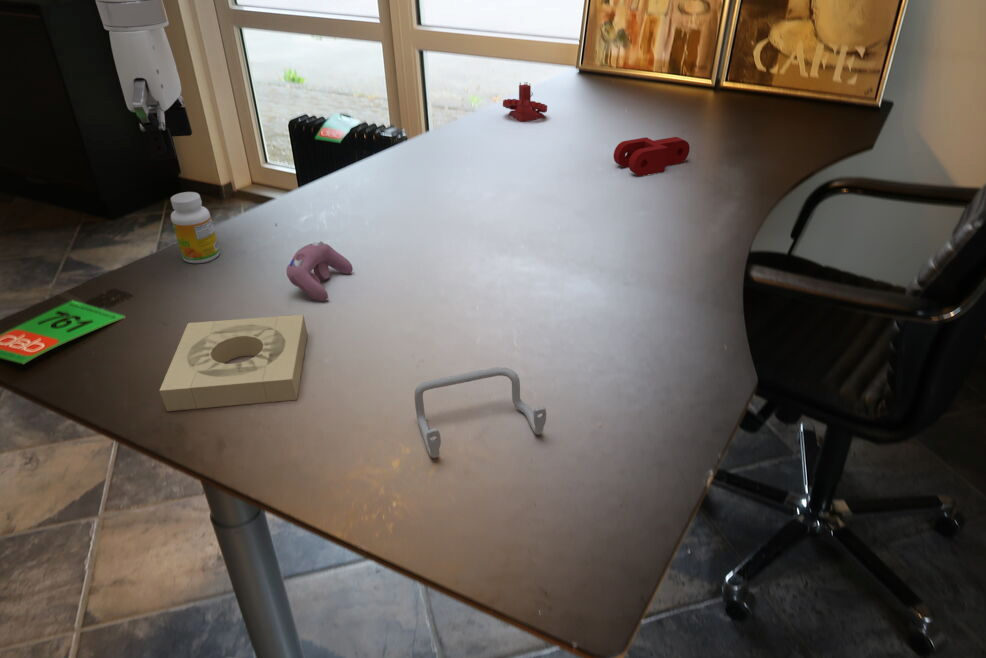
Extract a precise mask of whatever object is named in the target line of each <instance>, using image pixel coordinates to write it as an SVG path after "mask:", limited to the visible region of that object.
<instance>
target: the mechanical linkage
mask: <svg viewBox="0 0 986 658" xmlns="http://www.w3.org/2000/svg"><path fill="white" fill-rule="evenodd" d="M690 149H691V148H690V144H689V142H688V141H687V140H685V139H683V138H681V137H678V136H671V137H665V138H661V139H654V140H653V139H651V138H649V137H647V136H646V137H640V138H634V139H629V140H628V139H627V140H623V141H620V142H619V143H618V144H617V145H616V146H615V149H614V151H613V161H614V162H615V164H617V165H618V166H620V167H622V168H625V169H627V168H626V167H628V168H629V169H628V170H629V171H630V172H631V173H632V174H635V175H636V176H638V177H644V176H643V175H645V176H649V175H648V174H651V175H655V174H654V173H656V174H659V173H658V172H661V173H665V172H664V171H666V167H669V166H668V165H671V166H675V165H674V164H676V165H679V164H682V163H684V162H685V161H686V160H687V158H688V156H689V154H690Z"/></svg>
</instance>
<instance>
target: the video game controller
mask: <svg viewBox="0 0 986 658" xmlns="http://www.w3.org/2000/svg"><path fill="white" fill-rule="evenodd" d="M329 267H330V268H332V269H334V270H335V271H337V272H339V273H342V274H346V275H349V274H351V273H352V272H353V270H354V269H353V265H352V263H351V262H350V261H349V260H348V259H347V258H346V257H345V256H343V255H342V254H340V253H339V252H338V251H337V250H335V249H334V248H333V247H331V246H330V245H329V244H327V243H324V242H323V241H318V242H317V241H315V242H313V243H309V244H306V245H304V246H302V247H301V248H299V249H298V250H297V252H295V254H294V256H293V257H292V259H291V260H290V263H289V264H288V265H287V266H286V275H287V278H288V280H289V281H290V283H291V284H292V285H293V286H295V287H297V288H299V290H300V291H302V292H303V293H304V294H306V295H307V296H308V297H310V298H312V299H314V300H316V301H318V302H326V301H327V300H328V298H329V294H328V292H327V290H326V289H325V287H324V286H323V285H322V284H321V282H322V281H325V280H327V279H329V278H330V277H331V272H330V268H329Z"/></svg>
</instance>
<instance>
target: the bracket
mask: <svg viewBox="0 0 986 658" xmlns="http://www.w3.org/2000/svg"><path fill="white" fill-rule="evenodd" d="M499 376H501V377H506V378H508V379H509V380H510V382H511V400H512V403H513V405H514V407H515V408H516V409H517V410H518V411H520V412H521V413H522V414H524V415H525V417H526V419H527V421H528V423H529V425H530V428H531V429H532V431H533V433H534V435H542V433H543V432H544V427H545V425H546V422H547V410H546V406H538V407H535V408H534V410H532V409H531V407H530V406H528V404H526V403H524V402H523V400H522V399H521V383H520V381H521V380H520V377H519V375H518V374H517V372H515V370H513V369H511V368H508V367H504V366H503V367H501V366H499V367H491V368H488V369H480V370H476V371H470V372H466V373H461V374H455V375H452V376H446V377H445V376H444V377H440V378H436V379H430V380H427V381H423V382H421V383H420V384H418V385H417V386H416V388H415V389H414V407H415V414H416V420H417V423H418V426H419V429H420V432H421V436H422V439H423V442H424V444H425V447H426V450H427V452H428V454H429V457H430V458H431V459H437V458H438V457H439V455H440V448H441V443H442V439H441V433H440V430H439V429H438V428H436V427H435V428H430V427H429V425H428V422H427V419H426V413H425V405H424V393H425V392H426V391H429V390H434V389H439V388H443V387H444V388H445V387H449V386H454V385H459V384H464V383H469V382H474V381H479V380H482V379H488V378H493V377H499ZM539 415H540V416H539ZM433 437H435V439H434V438H433Z"/></svg>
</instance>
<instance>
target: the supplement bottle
mask: <svg viewBox="0 0 986 658" xmlns="http://www.w3.org/2000/svg"><path fill="white" fill-rule="evenodd" d="M170 202H171V206H172V209H173V211H171V213H170V220H171V223H172V227H173V230H174V234H175V237H176V240H177V244H178V247H179V250H180V254H181V257H182V260H183V261H185V262H187V263H189V264H204V263H208V262H211V261H213V260H215V259H216V258H218V257H219V255H220V247H219V243H218V239H217V235H216V232H215V228H214V224H213V221H212V217H211V214H210V213H211V212H210V211H209V210H208V208H207V207H205V206H203V204H202V203H203V201H202V199H201V195H200V194H199V193H198V192H195V191H185V192H179V193H176V194H174V195H172V196H171V197H170Z"/></svg>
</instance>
